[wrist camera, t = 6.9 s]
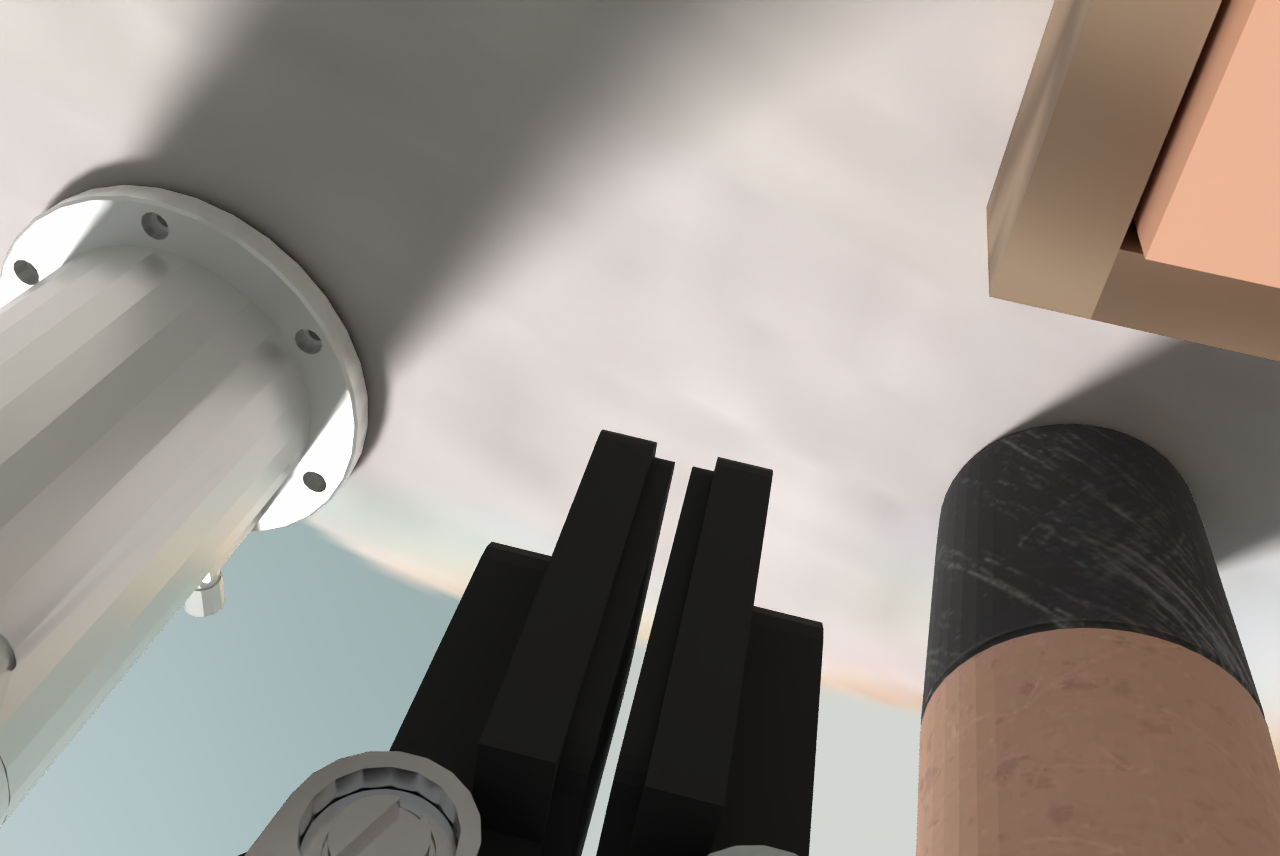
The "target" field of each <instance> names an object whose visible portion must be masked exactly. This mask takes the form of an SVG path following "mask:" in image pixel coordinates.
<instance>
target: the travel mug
mask: <svg viewBox="0 0 1280 856" xmlns="http://www.w3.org/2000/svg"><path fill="white" fill-rule="evenodd" d="M917 816H918V817H917V845H916V856H1280V771H1279V768H1278V764H1277V760H1276V756H1275V752H1274V748H1273V745H1272V741H1271V737H1270V733H1269V729H1268V726H1267V723H1266V721H1265V717H1264V713H1263V709H1262V706H1261V703H1260V700H1259V697H1258V694H1257V691H1256V688H1255V684H1254V681H1253V678H1252V675H1251V672H1250V669H1249V666H1248V663H1247V660H1246V657H1245V654H1244V650H1243V647H1242V644H1241V641H1240V638H1239V635H1238V632H1237V629H1236V626H1235V623H1234V620H1233V616H1232V613H1231V610H1230V607H1229V604H1228V601H1227V598H1226V595H1225V592H1224V589H1223V586H1222V582H1221V579H1220V576H1219V573H1218V570H1217V567H1216V564H1215V561H1214V558H1213V555H1212V552H1211V548H1210V545H1209V542H1208V539H1207V536H1206V533H1205V530H1204V527H1203V524H1202V521H1201V518H1200V516H1199V513H1198V510H1197V507H1196V504H1195V502H1194V500H1193V497H1192V495H1191V493H1190V491H1189V488H1188V486H1187V484H1186V483H1185V481H1184V480H1183V478H1182V477H1181V475H1180V474H1179V472H1178V471H1177V470H1176V469H1175V468H1174V467H1173V466H1172V465H1171V463H1170V462H1169V461H1168V460H1167V459H1166V458H1164V457H1163V456H1162V455H1161V454H1159V453H1158V452H1157V451H1156V450H1154V449H1153V448H1151V447H1150V446H1148V445H1146V444H1145V443H1143V442H1141V441H1139V440H1137V439H1135V438H1133V437H1130V436H1128V435H1126V434H1123V433H1119V432H1116V431H1113V430H1110V429H1105V428H1100V427H1095V426H1086V425H1052V426H1044V427H1038V428H1034V429H1029V430H1025V431H1022V432H1019V433H1016V434H1013V435H1010V436H1008V437H1006V438H1003V439H1001V440H999V441H997V442H995V443H993V444H992V445H990V446H988V447H987V448H985V449H984V450H982V451H981V452H979V453H978V454H977V455H976V456H974V457H973V458H972V459H971V460H970V461H969V462H968V463H967V464H966V465H965V466H964V467H963V468H962V469H961V470H960V472H959V473H958V474H957V476H956V477H955V479H954V480H953V482H952V483H951V485H950V487H949V489H948V491H947V493H946V495H945V499H944V502H943V505H942V509H941V514H940V521H939V528H938V537H937V547H936V557H935V568H934V579H933V591H932V602H931V613H930V625H929V636H928V648H927V659H926V670H925V682H924V693H923V705H922V716H921V732H920V753H919V783H918V814H917Z"/></svg>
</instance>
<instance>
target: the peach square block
mask: <svg viewBox="0 0 1280 856" xmlns="http://www.w3.org/2000/svg"><path fill="white" fill-rule="evenodd" d="M1133 219H1134V222H1135V226H1136V229H1137V233H1138V236H1139V240H1140V243H1141V246H1142V250H1143V253H1144V257H1145V259H1147V260H1152V261H1156V262H1161V263H1166V264H1170V265H1175V266H1180V267H1184V268H1189V269H1193V270H1198V271H1203V272H1207V273H1212V274H1216V275H1221V276H1226V277H1230V278H1235V279H1239V280H1244V281H1249V282H1253V283H1258V284H1263V285H1267V286H1272V287H1276V288H1280V0H1222V2H1221V4H1220V7H1219V9H1218V11H1217V14H1216V16H1215V19H1214V21H1213V24H1212V26H1211V28H1210V31H1209V33H1208V36H1207V38H1206V41H1205V43H1204V45H1203V48H1202V50H1201V53H1200V55H1199V58H1198V60H1197V62H1196V65H1195V67H1194V70H1193V72H1192V75H1191V77H1190V79H1189V82H1188V84H1187V87H1186V89H1185V91H1184V94H1183V96H1182V99H1181V101H1180V104H1179V106H1178V108H1177V111H1176V113H1175V116H1174V118H1173V121H1172V123H1171V125H1170V128H1169V130H1168V133H1167V135H1166V138H1165V140H1164V142H1163V145H1162V147H1161V150H1160V152H1159V155H1158V157H1157V159H1156V162H1155V164H1154V167H1153V169H1152V171H1151V174H1150V176H1149V179H1148V181H1147V184H1146V186H1145V188H1144V191H1143V193H1142V196H1141V198H1140V201H1139V203H1138V205H1137V208H1136V210H1135V213H1134V215H1133Z"/></svg>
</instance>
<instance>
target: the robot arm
mask: <svg viewBox="0 0 1280 856" xmlns="http://www.w3.org/2000/svg"><path fill="white" fill-rule="evenodd" d="M367 428H368V395H367V390H366V386H365V381H364V377H363V372H362V367H361V363H360V361H359V358H358V356H357V353H356V351H355V349H354V346H353V344H352V341H351V339H350V337H349V334H348V332H347V330H346V328H345V326H344V325H343V323H342V322H341V320H340V318H339V317H338V315H337V313H336V312H335V310H334V309H333V307H332V305H331V304H330V302H329V301H328V299H327V297H326V296H325V295H324V294H323V293H322V291H321V290H320V289H319V288H318V287H317V285H316V284H315V283H314V282H313V281H312V280H311V278H310V277H309V276H308V275H307V274H306V273H305V271H304V270H303V269H302V268H301V267H300V266H299V265H298V264H297V263H296V262H295V261H294V260H293V259H292V258H290V257H289V256H288V255H287V254H286V253H285V252H284V251H282V250H281V249H280V248H279V247H278V246H277V245H276V244H275V243H273V242H272V241H271V240H270V239H269V238H268V237H266V236H265V235H263V234H261V233H260V232H258V231H257V230H255V229H254V228H252V227H251V226H249V225H248V224H246V223H245V222H243V221H242V220H240V219H239V218H237V217H236V216H234V215H232V214H230V213H228V212H226V211H224V210H221V209H219V208H217V207H215V206H213V205H211V204H208V203H206V202H204V201H202V200H200V199H198V198H194V197H191V196H187V195H184V194H180V193H177V192H173V191H169V190H166V189H162V188H156V187H145V186H133V185H118V186H110V187H102V188H94V189H90V190H87V191H85V192H82V193H80V194H77V195H75V196H72V197H69V198H67V199H64V200H63V201H61V202H60V203H58V204H57V205H55V206H53V207H52V208H50V209H49V210H47V211H46V212H44V213H42V214H41V215H39V216H37V217H36V218H35V219H34V220H33V221H32V222H31V223H30V224H29V225H28V226H27V227H26V228H25V229H24V230H23V231H22V232H21V233H20V234H19V235H18V236H17V237H16V239H15V240H14V242H13V244H12V246H11V247H10V249H9V251H8V253H7V254H6V257H5V259H4V262H3V267H2V271H1V276H0V827H1V826H2V824H3V823H4V822H5V821H6V820H7V818H8V817H9V816H10V815H11V814H12V812H13V811H14V810H15V809H16V807H17V806H18V805H19V804H20V802H21V801H22V800H23V799H24V798H25V796H26V795H27V794H28V793H29V792H30V790H31V789H32V788H33V787H34V786H35V784H36V783H37V782H38V781H39V779H40V778H41V777H42V776H43V775H44V773H45V772H46V771H47V770H48V769H49V767H50V766H51V765H52V764H53V762H54V761H55V760H56V759H57V758H58V756H59V755H60V754H61V752H62V751H63V750H64V749H65V748H66V747H67V745H68V744H69V743H70V742H71V740H72V739H73V738H74V737H75V736H76V734H77V733H78V732H79V731H80V730H81V728H82V727H83V726H84V724H85V723H86V722H87V721H88V720H89V719H90V717H91V716H92V715H93V714H94V712H95V711H96V710H97V709H98V708H99V706H100V705H101V704H102V703H103V702H104V700H105V699H106V698H107V697H108V695H109V694H110V693H111V692H112V690H113V689H114V688H115V687H116V686H117V684H118V683H119V682H120V681H121V680H122V678H123V677H124V676H125V675H126V674H127V672H128V671H129V670H130V669H131V667H132V666H133V665H134V664H135V662H136V661H137V660H138V659H139V658H140V656H141V655H142V654H143V653H144V651H145V650H146V649H147V648H148V647H149V645H150V644H151V643H152V642H153V641H154V639H155V638H156V637H157V636H158V635H159V633H160V632H161V631H162V630H163V628H164V627H165V626H166V625H167V624H168V622H169V621H170V620H171V619H172V617H173V616H174V615H175V614H176V613H177V611H178V610H179V609H180V608H181V606H182V605H183V606H184V607H185V610H186V612H187V613H189V614H191V615H192V616H197V617H206V616H209V615H213V614H215V613H217V612H218V611H219V610H220V609H222V607H223V605H224V602H225V597H224V588H223V578H222V574H221V572H220V568H221V567H222V566H223V565H224V563H225V562H226V561H227V560H228V558H229V557H230V556H231V555H232V553H233V552H234V551H235V550H236V548H237V547H238V546H239V545H240V544H241V542H242V541H243V540H244V539H245V538H246V536H247V535H248V534H249V533H250V532H255V531H258V532H259V531H266V530H271V529H276V528H281V527H285V526H289V525H291V524H294V523H296V522H298V521H300V520H302V519H304V518H307V517H309V516H311V515H313V514H314V513H315V512H316V511H318V510H319V509H320V508H321V507H322V506H324V505H325V504H326V503H327V502H329V501H330V500H331V499H332V498H333V497H334V495H335V494H336V493H337V491H338V490H339V489H340V488H341V486H342V485H343V484H344V482H345V481H346V480H347V479H348V477H349V476H350V474H351V472H352V470H353V469H354V467H355V465H356V463H357V461H358V459H359V457H360V455H361V453H362V450H363V445H364V441H365V436H366V432H367ZM656 447H657V442H653V441H649V440H645V439H640V438H636V437H632V436H628V435H624V434H619V433H615V432H611V431H607V430H602V431H601V432H600V435H599V437H598V439H597V442H596V444H595V447H594V450H593V452H592V455H591V457H590V460H589V462H588V465H587V467H586V470H585V472H584V475H583V478H582V480H581V483H580V485H579V488H578V490H577V493H576V495H575V498H574V501H573V503H572V506H571V508H570V511H569V513H568V516H567V518H566V521H565V524H564V526H563V529H562V531H561V534H560V536H559V539H558V541H557V544H556V547H555V549H554V552H553V554H552V556H548V555H544V554H540V553H536V552H532V551H528V550H523V549H519V548H515V547H511V546H507V545H503V544H499V543H495V542H491V543H490V544H489V545H488V546H487V547H486V549H485V551H484V553H483V555H482V556H481V558H480V560H479V563H478V565H477V567H476V569H475V571H474V573H473V575H472V577H471V579H470V582H469V584H468V586H467V588H466V590H465V592H464V594H463V596H462V598H461V601H460V603H459V605H458V607H457V609H456V611H455V613H454V616H453V618H452V620H451V622H450V624H449V626H448V628H447V630H446V632H445V635H444V637H443V639H442V641H441V643H440V645H439V647H438V649H437V651H436V653H435V656H434V658H433V660H432V662H431V664H430V666H429V668H428V670H427V672H426V675H425V677H424V679H423V681H422V683H421V685H420V687H419V689H418V691H417V694H416V696H415V698H414V700H413V702H412V704H411V706H410V708H409V710H408V713H407V715H406V717H405V719H404V721H403V723H402V725H401V727H400V729H399V732H398V734H397V736H396V738H395V740H394V742H393V744H392V746H391V749H390V751H370V752H365V753H361V754H357V755H353V756H349V757H345V758H341V759H338V760H336V761H335V762H333V763H331V764H329V765H327V766H325V767H324V768H322V769H320V770H318V771H316V772H314V773H313V774H311V776H310V777H308V778H307V779H306V780H305V781H304V782H303V783H302V784H301V785H300V786H299V787H298V788H297V789H296V790H295V791H294V792H293V793H292V794H291V795H290V796H289V798H288V799H287V800H286V802H285V803H284V804H283V806H282V807H281V808H280V810H279V811H278V812H277V814H276V815H275V816H274V817H273V819H272V820H271V821H270V823H269V824H268V825H267V827H266V828H265V829H264V831H263V832H262V833H261V834H260V836H259V837H258V839H257V840H256V841H255V842H254V844H253V845H252V846H251V848H250V849H249V850H248V852H246V853H244V854H241V855H239V856H581V854H582V850H583V847H584V843H585V839H586V835H587V831H588V828H589V824H590V820H591V816H592V813H593V809H594V805H595V801H596V798H597V794H598V790H599V786H600V783H601V779H602V775H603V771H604V767H605V764H606V760H607V756H608V752H609V748H610V744H611V740H612V737H613V733H614V730H615V726H616V722H617V718H618V714H619V711H620V707H621V703H622V699H623V695H624V691H625V687H626V684H627V679H628V675H629V671H630V666H631V662H632V658H633V653H634V649H635V644H636V640H637V635H638V631H639V626H640V621H641V617H642V612H643V608H644V603H645V599H646V594H647V589H648V585H649V580H650V576H651V571H652V567H653V562H654V557H655V553H656V548H657V544H658V539H659V535H660V530H661V525H662V521H663V516H664V512H665V507H666V503H667V498H668V493H669V489H670V484H671V480H672V475H673V470H674V465H675V462H672V461H668V460H664V459H660V458H655V453H656ZM772 476H773V470H771V469H767V468H762V467H758V466H754V465H750V464H746V463H741V462H737V461H733V460H729V459H725V458H720V457H718V459H717V462H716V466H715V470H714V471H710V470H706V469H702V468H697V467H692V471H691V475H690V479H689V483H688V486H687V490H686V494H685V498H684V502H683V506H682V510H681V514H680V518H679V522H678V526H677V530H676V534H675V538H674V542H673V546H672V550H671V554H670V558H669V561H668V565H667V569H666V573H665V577H664V581H663V585H662V589H661V593H660V597H659V601H658V605H657V609H656V613H655V617H654V621H653V625H652V629H651V633H650V636H649V640H648V644H647V648H646V652H645V657H644V660H643V664H642V668H641V672H640V676H639V680H638V684H637V688H636V692H635V696H634V700H633V704H632V708H631V712H630V716H629V719H628V723H627V727H626V731H625V735H624V739H623V744H622V747H621V751H620V755H619V759H618V763H617V767H616V772H615V776H614V780H613V784H612V788H611V793H610V797H609V802H608V806H607V810H606V815H605V819H604V824H603V828H602V832H601V837H600V842H599V846H598V850H597V855H596V856H809V844H810V829H811V814H812V800H813V785H814V769H815V755H816V740H817V724H818V711H819V696H820V681H821V666H822V651H823V625H822V623H821V622H817V621H813V620H809V619H805V618H801V617H797V616H793V615H788V614H784V613H780V612H776V611H772V610H768V609H764V608H760V607H756V606H754V599H755V592H756V585H757V578H758V572H759V565H760V558H761V551H762V544H763V538H764V531H765V524H766V517H767V510H768V504H769V497H770V490H771V483H772Z"/></svg>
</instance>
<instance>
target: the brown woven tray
mask: <svg viewBox="0 0 1280 856" xmlns="http://www.w3.org/2000/svg"><path fill="white" fill-rule="evenodd" d="M1221 2H1222V0H1055V2H1054V5H1053V8H1052V11H1051V14H1050V17H1049V20H1048V23H1047V26H1046V29H1045V32H1044V35H1043V38H1042V41H1041V44H1040V47H1039V50H1038V53H1037V56H1036V59H1035V62H1034V65H1033V68H1032V71H1031V75H1030V78H1029V81H1028V84H1027V87H1026V90H1025V93H1024V96H1023V99H1022V102H1021V105H1020V108H1019V111H1018V114H1017V117H1016V120H1015V123H1014V126H1013V129H1012V132H1011V135H1010V138H1009V141H1008V144H1007V147H1006V150H1005V153H1004V156H1003V159H1002V162H1001V165H1000V168H999V171H998V174H997V177H996V180H995V183H994V187H993V190H992V193H991V196H990V199H989V202H988V205H987V237H988V270H989V297H994V298H998V299H1003V300H1007V301H1011V302H1016V303H1020V304H1025V305H1029V306H1034V307H1038V308H1043V309H1047V310H1052V311H1056V312H1061V313H1065V314H1070V315H1074V316H1078V317H1083V318H1087V319H1092V320H1096V321H1101V322H1105V323H1110V324H1114V325H1119V326H1123V327H1128V328H1132V329H1136V330H1141V331H1145V332H1150V333H1154V334H1159V335H1163V336H1168V337H1172V338H1177V339H1181V340H1186V341H1190V342H1195V343H1199V344H1203V345H1208V346H1212V347H1217V348H1221V349H1226V350H1230V351H1235V352H1239V353H1244V354H1248V355H1253V356H1257V357H1261V358H1266V359H1270V360H1275V361H1279V362H1280V288H1276V287H1272V286H1267V285H1263V284H1258V283H1253V282H1249V281H1244V280H1239V279H1235V278H1230V277H1226V276H1221V275H1216V274H1212V273H1207V272H1203V271H1198V270H1193V269H1189V268H1184V267H1180V266H1175V265H1170V264H1166V263H1161V262H1156V261H1152V260H1147V259H1145V257H1144V253H1143V250H1142V246H1141V243H1140V240H1139V236H1138V233H1137V229H1136V226H1135V222H1134V219H1133V215H1134V213H1135V210H1136V208H1137V205H1138V203H1139V201H1140V198H1141V196H1142V193H1143V191H1144V188H1145V186H1146V184H1147V181H1148V179H1149V176H1150V174H1151V171H1152V169H1153V167H1154V164H1155V162H1156V159H1157V157H1158V155H1159V152H1160V150H1161V147H1162V145H1163V142H1164V140H1165V138H1166V135H1167V133H1168V130H1169V128H1170V125H1171V123H1172V121H1173V118H1174V116H1175V113H1176V111H1177V108H1178V106H1179V104H1180V101H1181V99H1182V96H1183V94H1184V91H1185V89H1186V87H1187V84H1188V82H1189V79H1190V77H1191V75H1192V72H1193V70H1194V67H1195V65H1196V62H1197V60H1198V58H1199V55H1200V53H1201V50H1202V48H1203V45H1204V43H1205V41H1206V38H1207V36H1208V33H1209V31H1210V28H1211V26H1212V24H1213V21H1214V19H1215V16H1216V14H1217V11H1218V9H1219V7H1220V4H1221Z"/></svg>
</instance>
